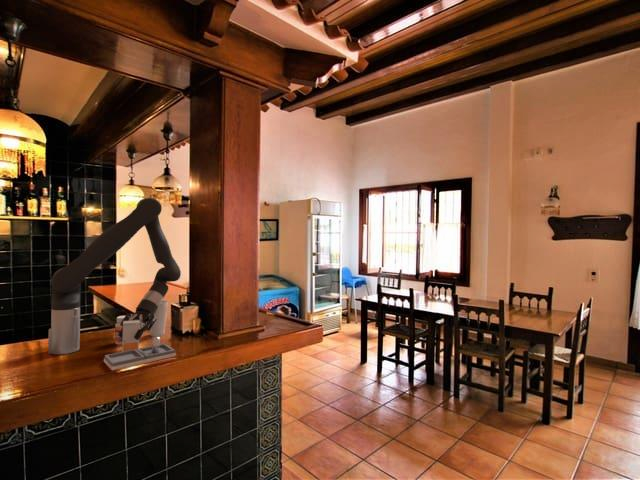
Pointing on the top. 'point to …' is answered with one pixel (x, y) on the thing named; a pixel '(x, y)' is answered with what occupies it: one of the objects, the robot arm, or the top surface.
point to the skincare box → (130, 335)
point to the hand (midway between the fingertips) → (128, 337)
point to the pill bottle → (118, 330)
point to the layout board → (139, 355)
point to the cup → (160, 320)
